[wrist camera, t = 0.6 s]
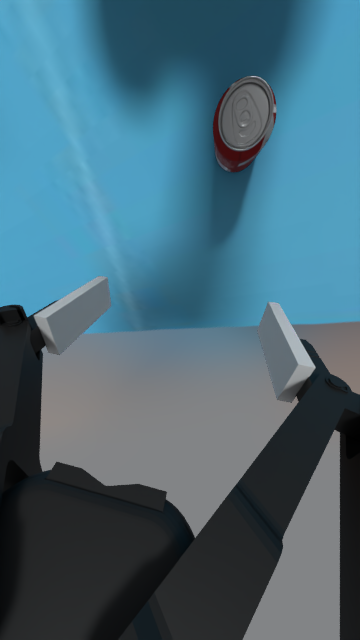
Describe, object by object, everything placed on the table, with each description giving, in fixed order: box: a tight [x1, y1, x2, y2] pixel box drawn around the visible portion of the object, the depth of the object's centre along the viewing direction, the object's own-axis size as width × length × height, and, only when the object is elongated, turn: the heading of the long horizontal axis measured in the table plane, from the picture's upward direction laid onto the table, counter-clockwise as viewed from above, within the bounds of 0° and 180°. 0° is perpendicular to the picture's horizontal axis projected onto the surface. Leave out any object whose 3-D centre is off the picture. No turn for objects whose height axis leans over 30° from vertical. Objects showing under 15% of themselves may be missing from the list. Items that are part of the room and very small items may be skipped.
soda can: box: [213, 76, 276, 172], centre depth 24 cm, size 7×7×12 cm
